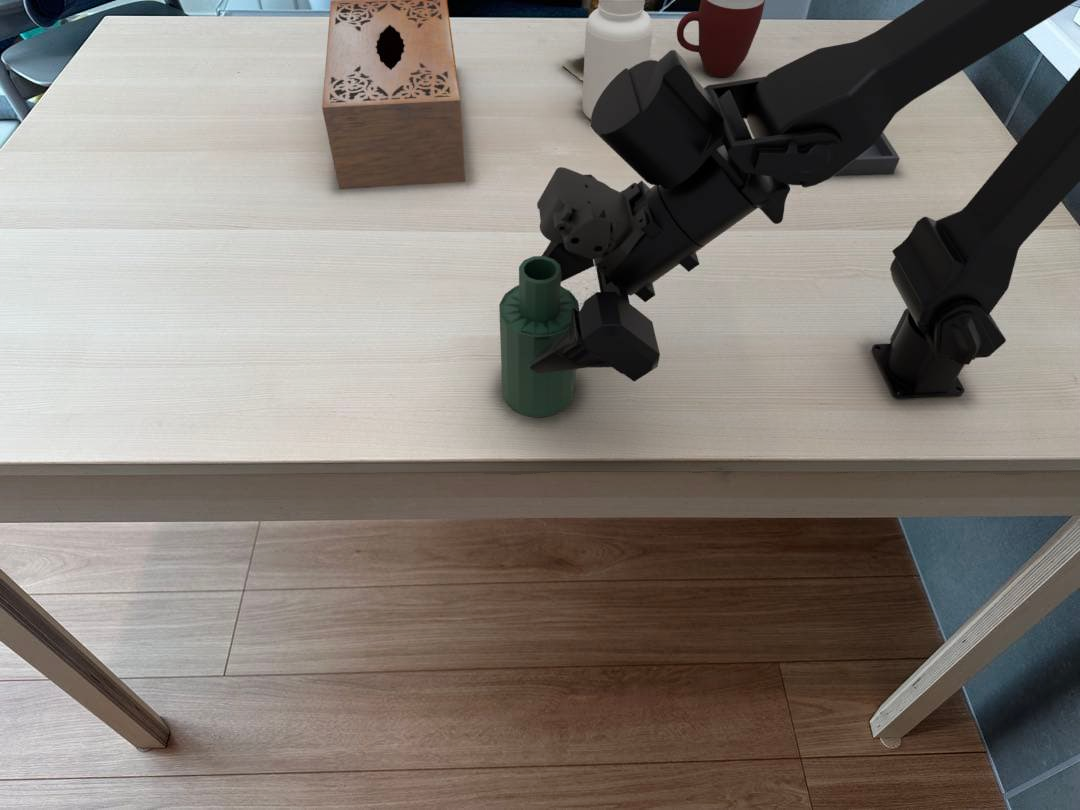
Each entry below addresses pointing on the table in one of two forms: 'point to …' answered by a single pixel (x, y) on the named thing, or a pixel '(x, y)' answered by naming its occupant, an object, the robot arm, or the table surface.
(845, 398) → the table surface
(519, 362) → the bottle
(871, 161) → the tray
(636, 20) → the pill bottle
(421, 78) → the tissue box cover
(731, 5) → the mug
